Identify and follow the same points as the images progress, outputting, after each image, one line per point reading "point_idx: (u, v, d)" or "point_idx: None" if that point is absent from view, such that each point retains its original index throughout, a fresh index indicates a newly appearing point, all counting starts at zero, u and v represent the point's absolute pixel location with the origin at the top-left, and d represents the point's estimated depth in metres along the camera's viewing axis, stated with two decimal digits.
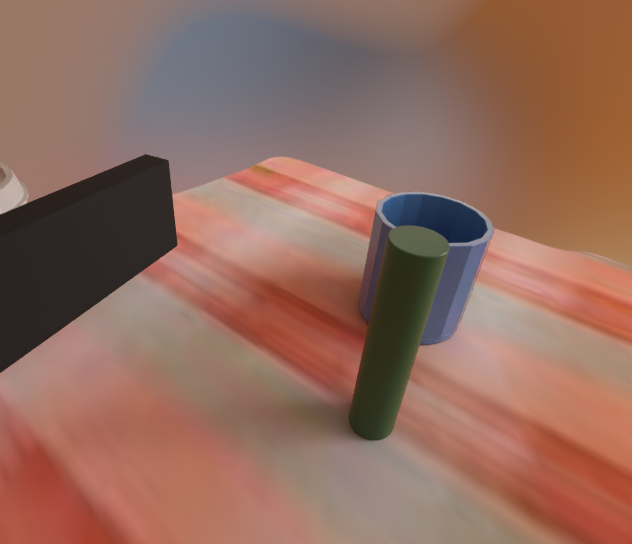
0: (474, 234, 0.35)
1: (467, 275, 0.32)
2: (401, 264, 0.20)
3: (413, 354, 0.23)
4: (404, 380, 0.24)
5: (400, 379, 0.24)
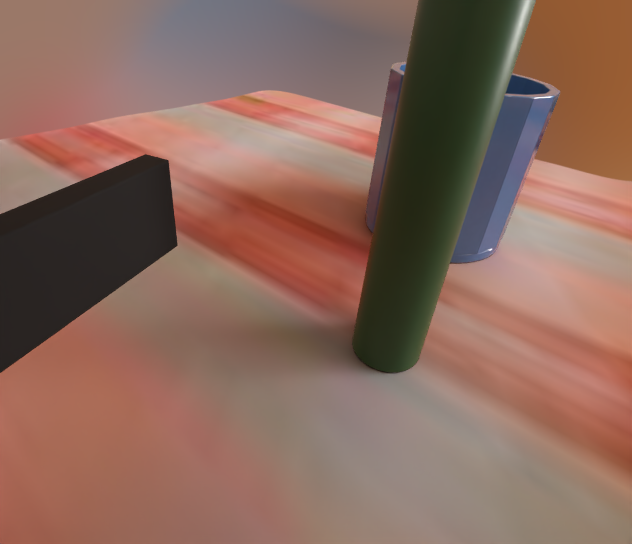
0: None
1: (522, 152, 0.22)
2: None
3: (462, 209, 0.14)
4: (443, 262, 0.15)
5: (439, 257, 0.15)
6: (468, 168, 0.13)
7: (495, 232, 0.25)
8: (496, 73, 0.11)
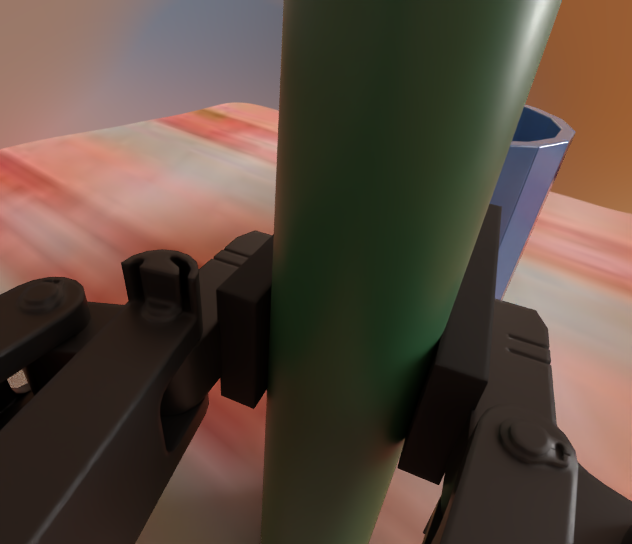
0: None
1: (521, 218, 0.16)
2: None
3: (408, 406, 0.07)
4: (382, 475, 0.08)
5: (371, 475, 0.08)
6: (413, 352, 0.06)
7: None
8: (462, 183, 0.05)
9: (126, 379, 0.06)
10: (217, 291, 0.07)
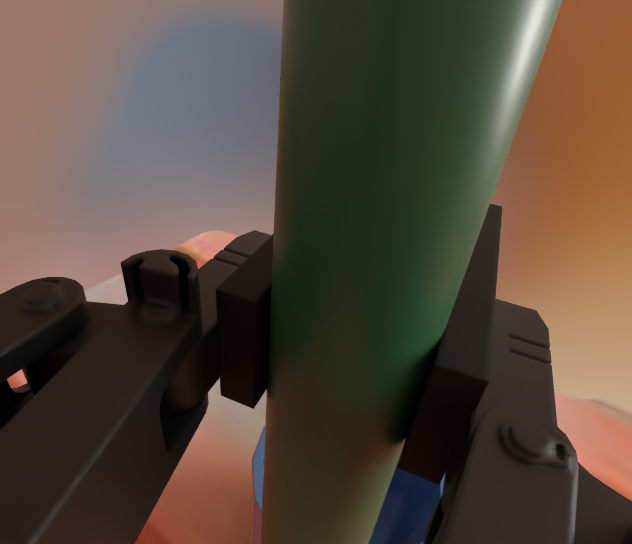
0: None
1: None
2: None
3: (408, 406, 0.07)
4: (382, 476, 0.08)
5: (371, 476, 0.08)
6: (413, 353, 0.06)
7: None
8: (463, 184, 0.05)
9: (125, 379, 0.06)
10: (217, 291, 0.07)
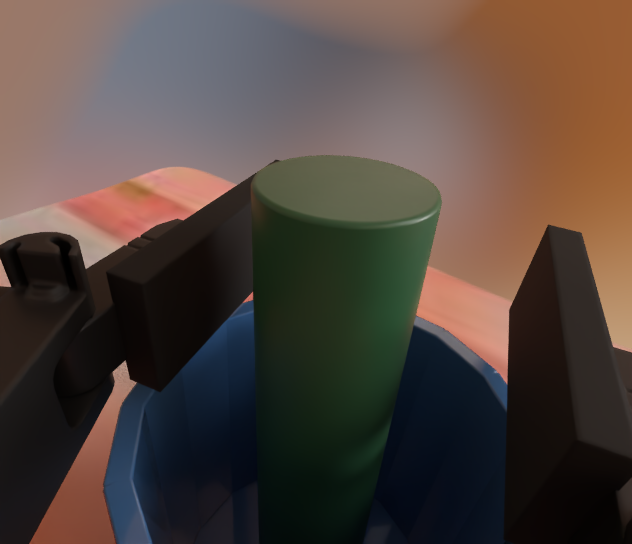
0: (480, 447, 0.11)
1: None
2: (283, 256, 0.06)
3: (364, 491, 0.09)
4: (351, 541, 0.10)
5: (341, 542, 0.10)
6: (360, 457, 0.08)
7: None
8: (375, 358, 0.07)
9: (10, 355, 0.06)
10: (107, 273, 0.07)
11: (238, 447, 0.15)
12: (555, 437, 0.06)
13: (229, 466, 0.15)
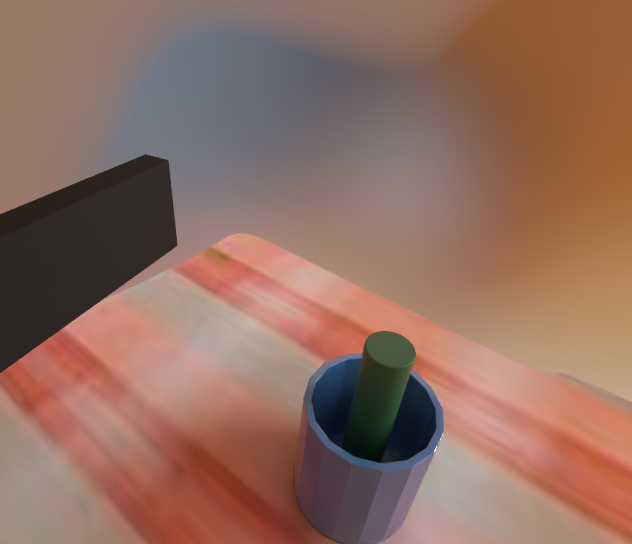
0: (425, 415, 0.29)
1: (410, 486, 0.26)
2: (375, 371, 0.24)
3: (387, 434, 0.28)
4: (380, 453, 0.29)
5: (377, 452, 0.28)
6: (388, 422, 0.27)
7: (397, 522, 0.29)
8: (396, 395, 0.25)
9: None
10: None
11: (323, 419, 0.33)
12: None
13: None
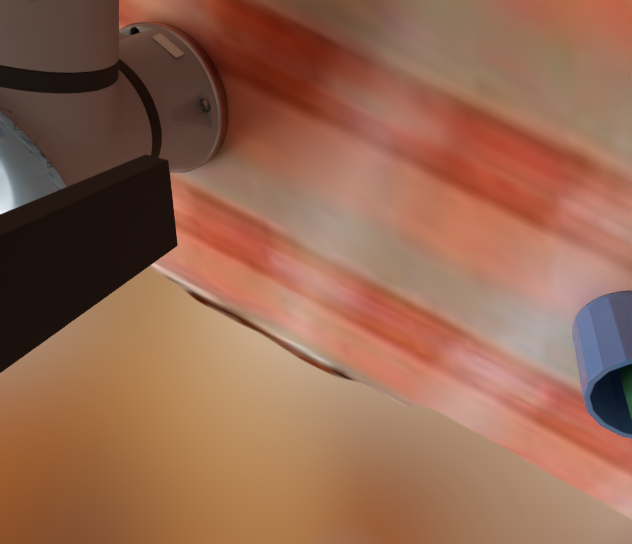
0: None
1: (611, 341, 0.36)
2: None
3: None
4: None
5: None
6: None
7: (598, 309, 0.40)
8: None
9: None
10: None
11: None
12: None
13: None
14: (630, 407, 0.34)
